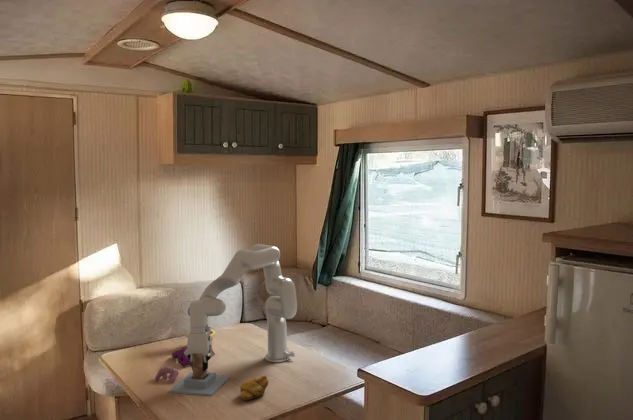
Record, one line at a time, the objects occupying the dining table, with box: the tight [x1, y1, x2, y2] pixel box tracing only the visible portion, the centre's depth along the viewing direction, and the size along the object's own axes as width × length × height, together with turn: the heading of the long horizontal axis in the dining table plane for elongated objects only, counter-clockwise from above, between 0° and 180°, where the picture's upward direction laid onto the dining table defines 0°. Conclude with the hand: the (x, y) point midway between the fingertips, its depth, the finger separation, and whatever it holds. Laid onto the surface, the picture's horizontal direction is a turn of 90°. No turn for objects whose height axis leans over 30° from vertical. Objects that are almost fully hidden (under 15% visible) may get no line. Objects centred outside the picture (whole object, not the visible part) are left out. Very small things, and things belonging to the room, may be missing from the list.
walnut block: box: [192, 354, 208, 379], centre depth 225 cm, size 4×4×11 cm
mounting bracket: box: [171, 346, 191, 368], centre depth 255 cm, size 9×8×18 cm
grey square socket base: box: [168, 371, 231, 397], centre depth 226 cm, size 20×20×4 cm
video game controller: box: [154, 366, 180, 384], centre depth 232 cm, size 10×5×7 cm, turn 71°
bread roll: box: [239, 375, 269, 401], centre depth 214 cm, size 13×10×8 cm
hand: (199, 369), depth 225 cm, fingers closed on walnut block, 4 cm apart
